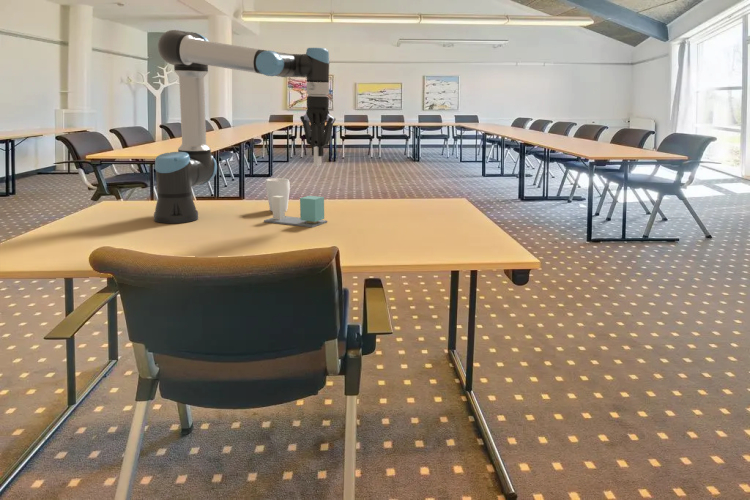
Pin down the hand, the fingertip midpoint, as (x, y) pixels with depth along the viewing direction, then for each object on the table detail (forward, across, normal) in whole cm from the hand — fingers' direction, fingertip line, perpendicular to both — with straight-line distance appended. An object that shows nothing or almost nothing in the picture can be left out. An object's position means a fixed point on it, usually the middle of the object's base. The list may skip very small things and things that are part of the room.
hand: (317, 165), depth 219 cm
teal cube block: (+18, +1, -4) cm, 19 cm away
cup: (+21, -25, +11) cm, 34 cm away
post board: (+20, -6, -4) cm, 21 cm away
